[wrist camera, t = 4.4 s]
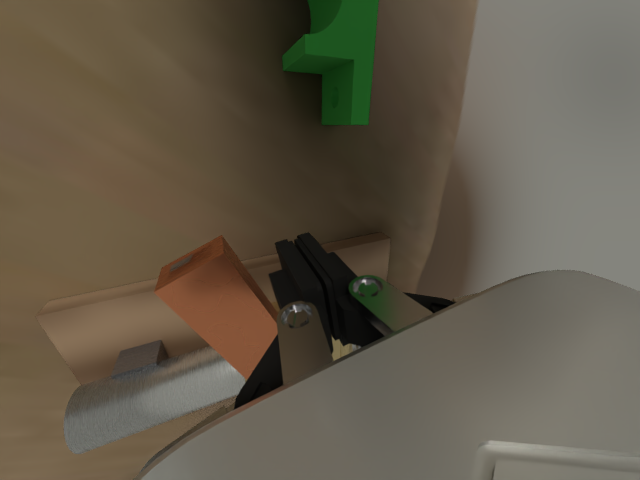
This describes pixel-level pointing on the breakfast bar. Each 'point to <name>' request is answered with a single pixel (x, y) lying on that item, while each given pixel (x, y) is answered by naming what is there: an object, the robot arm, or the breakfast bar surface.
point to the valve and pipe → (152, 392)
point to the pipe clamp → (339, 57)
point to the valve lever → (220, 303)
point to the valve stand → (165, 311)
